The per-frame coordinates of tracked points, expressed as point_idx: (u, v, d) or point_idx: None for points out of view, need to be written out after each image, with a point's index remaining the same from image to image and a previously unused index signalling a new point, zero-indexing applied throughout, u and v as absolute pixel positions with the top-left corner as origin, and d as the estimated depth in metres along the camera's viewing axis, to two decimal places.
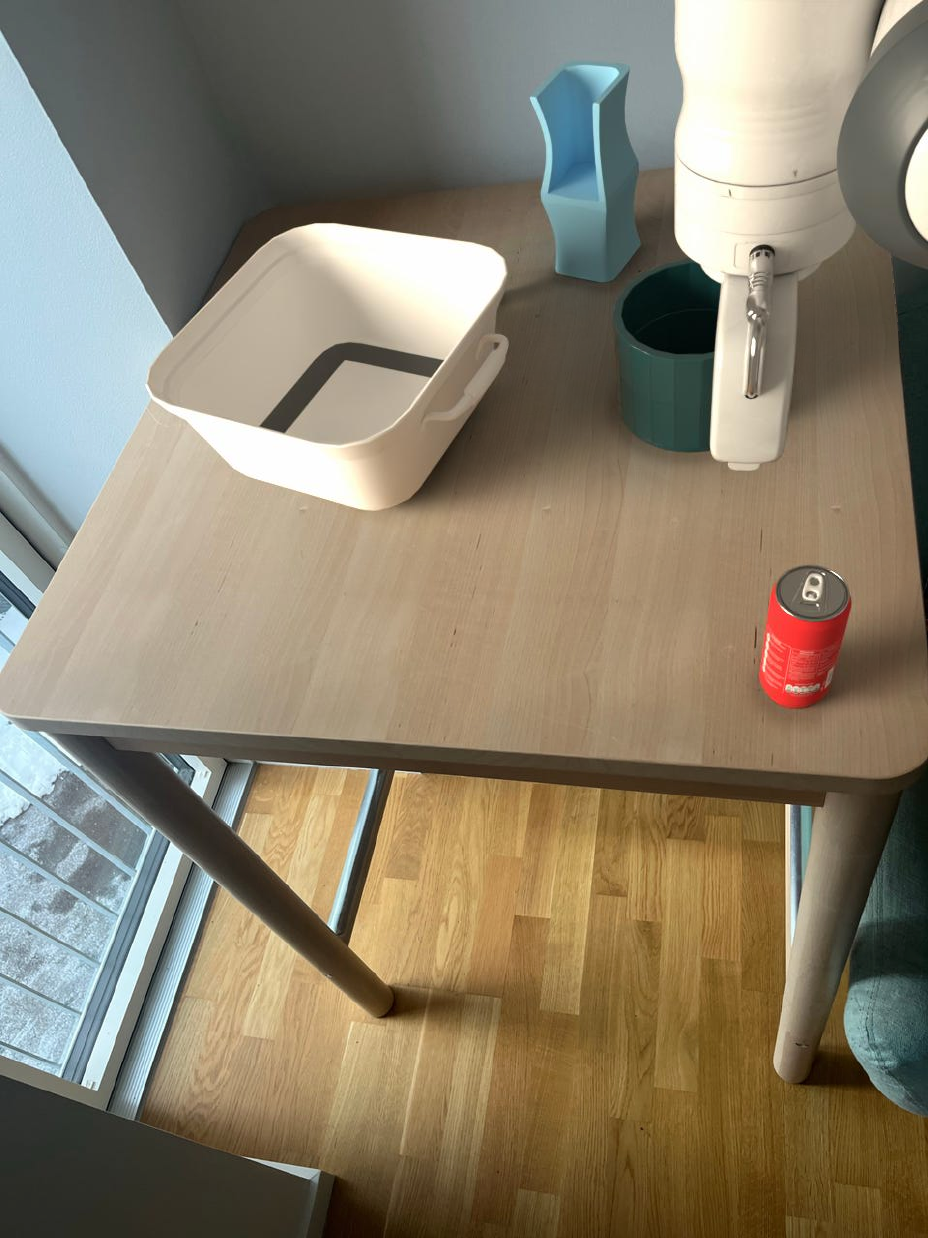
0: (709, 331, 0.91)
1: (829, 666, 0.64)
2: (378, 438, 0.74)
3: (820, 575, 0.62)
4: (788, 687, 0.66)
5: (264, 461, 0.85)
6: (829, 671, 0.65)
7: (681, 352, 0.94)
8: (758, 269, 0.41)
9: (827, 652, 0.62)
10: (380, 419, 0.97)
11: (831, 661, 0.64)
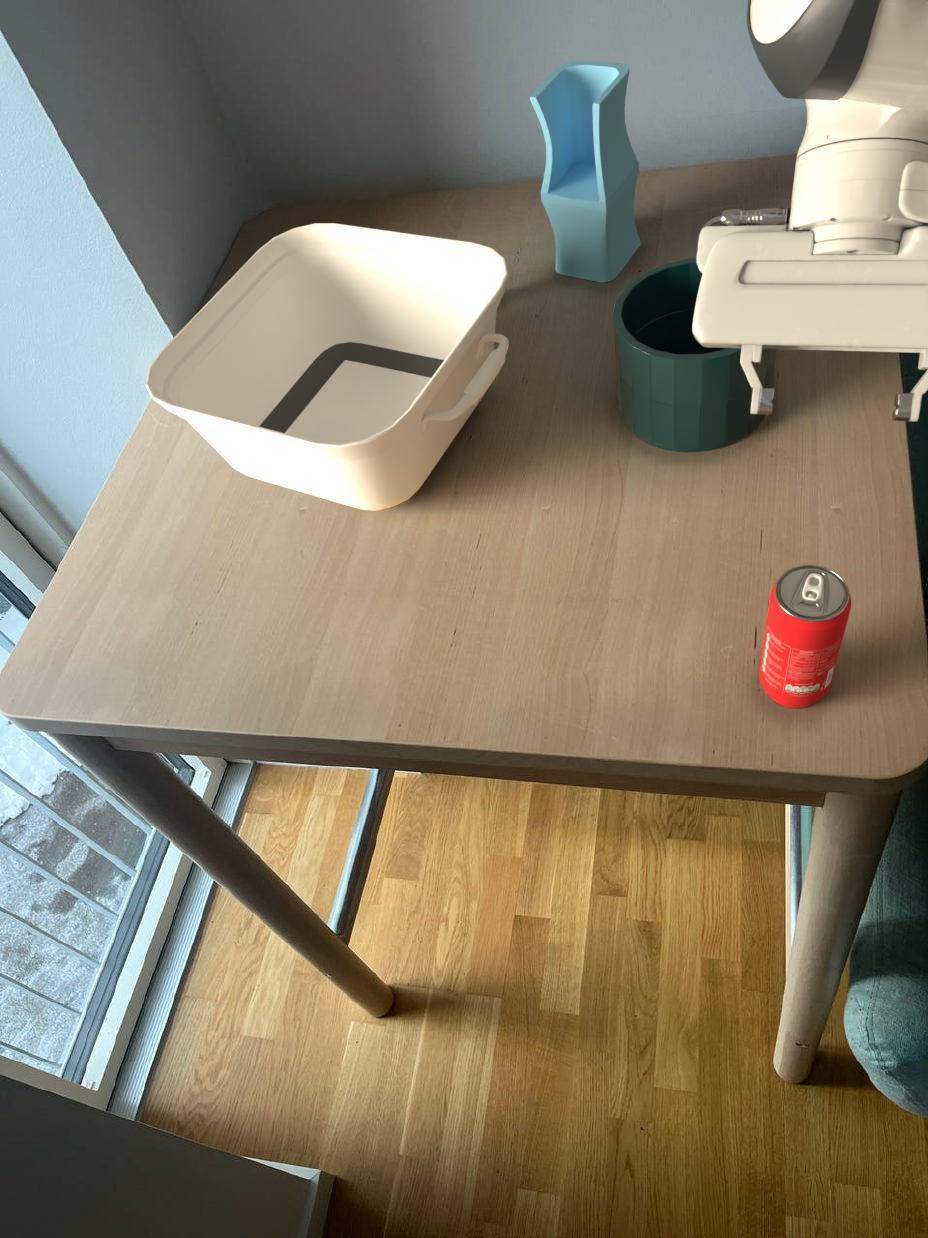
0: None
1: (829, 666, 0.64)
2: (378, 438, 0.74)
3: (820, 575, 0.62)
4: (788, 687, 0.66)
5: (264, 461, 0.85)
6: (829, 671, 0.65)
7: (681, 352, 0.94)
8: None
9: (827, 652, 0.62)
10: (380, 419, 0.97)
11: (831, 661, 0.64)
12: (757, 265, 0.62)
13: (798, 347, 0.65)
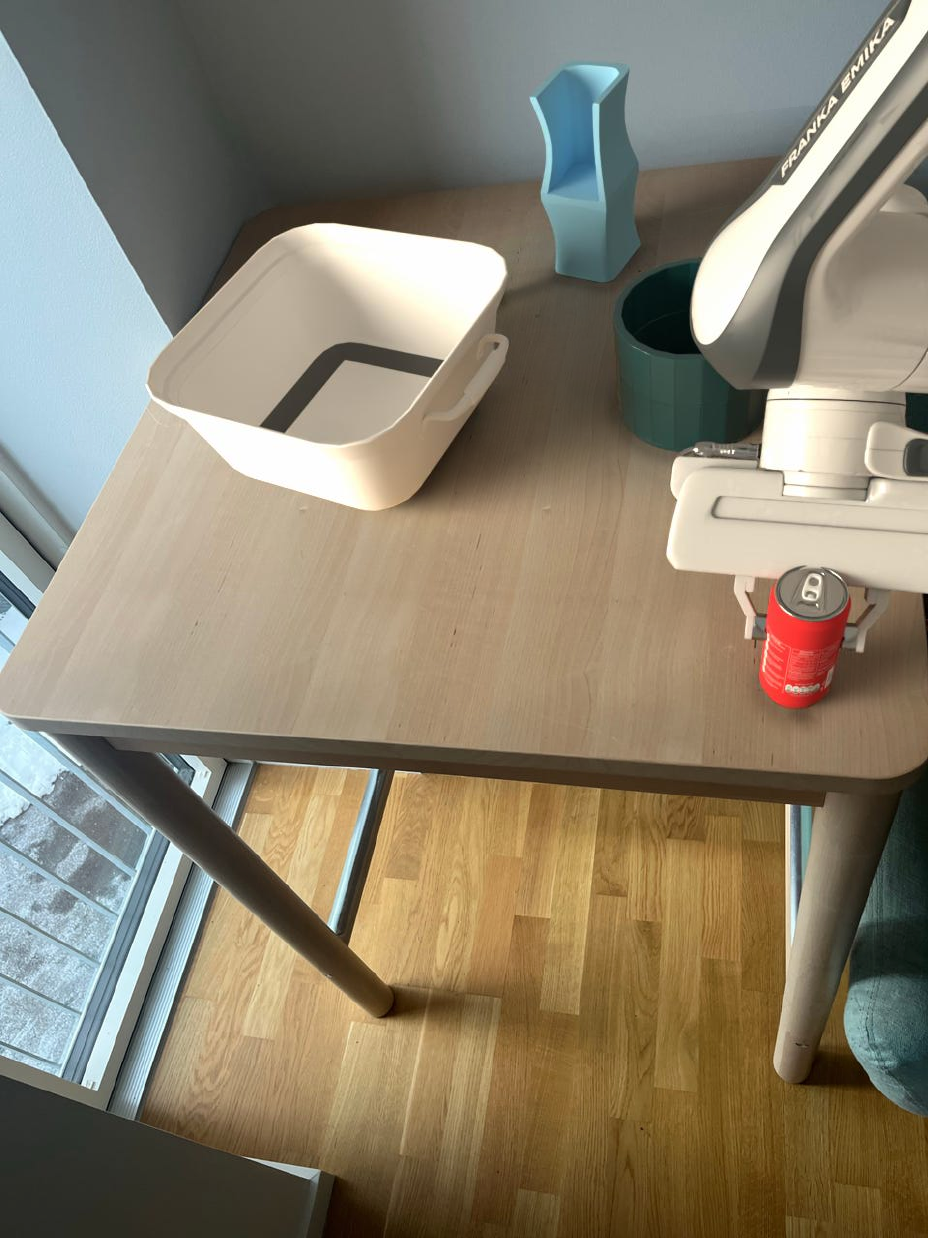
0: None
1: (829, 666, 0.64)
2: (378, 438, 0.74)
3: (820, 575, 0.62)
4: (788, 687, 0.66)
5: (264, 461, 0.85)
6: (829, 671, 0.65)
7: (681, 352, 0.94)
8: (736, 443, 0.64)
9: (827, 652, 0.62)
10: (380, 419, 0.97)
11: (831, 661, 0.64)
12: (728, 500, 0.63)
13: None
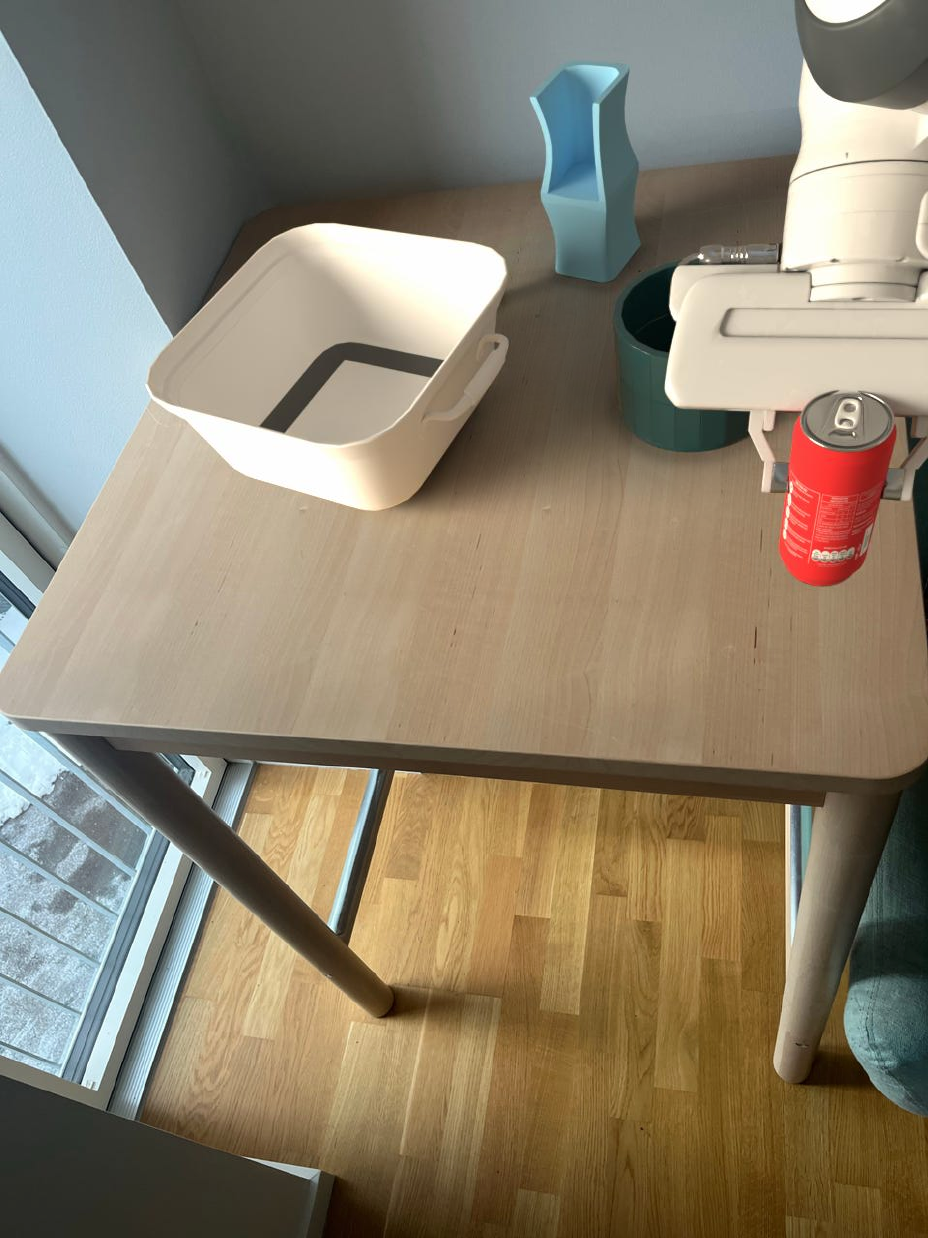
0: None
1: (867, 522, 0.52)
2: (378, 438, 0.74)
3: (857, 400, 0.49)
4: (815, 553, 0.54)
5: (264, 461, 0.85)
6: (866, 530, 0.53)
7: None
8: None
9: (866, 499, 0.50)
10: (380, 419, 0.97)
11: (869, 515, 0.52)
12: (741, 313, 0.51)
13: (793, 410, 0.53)
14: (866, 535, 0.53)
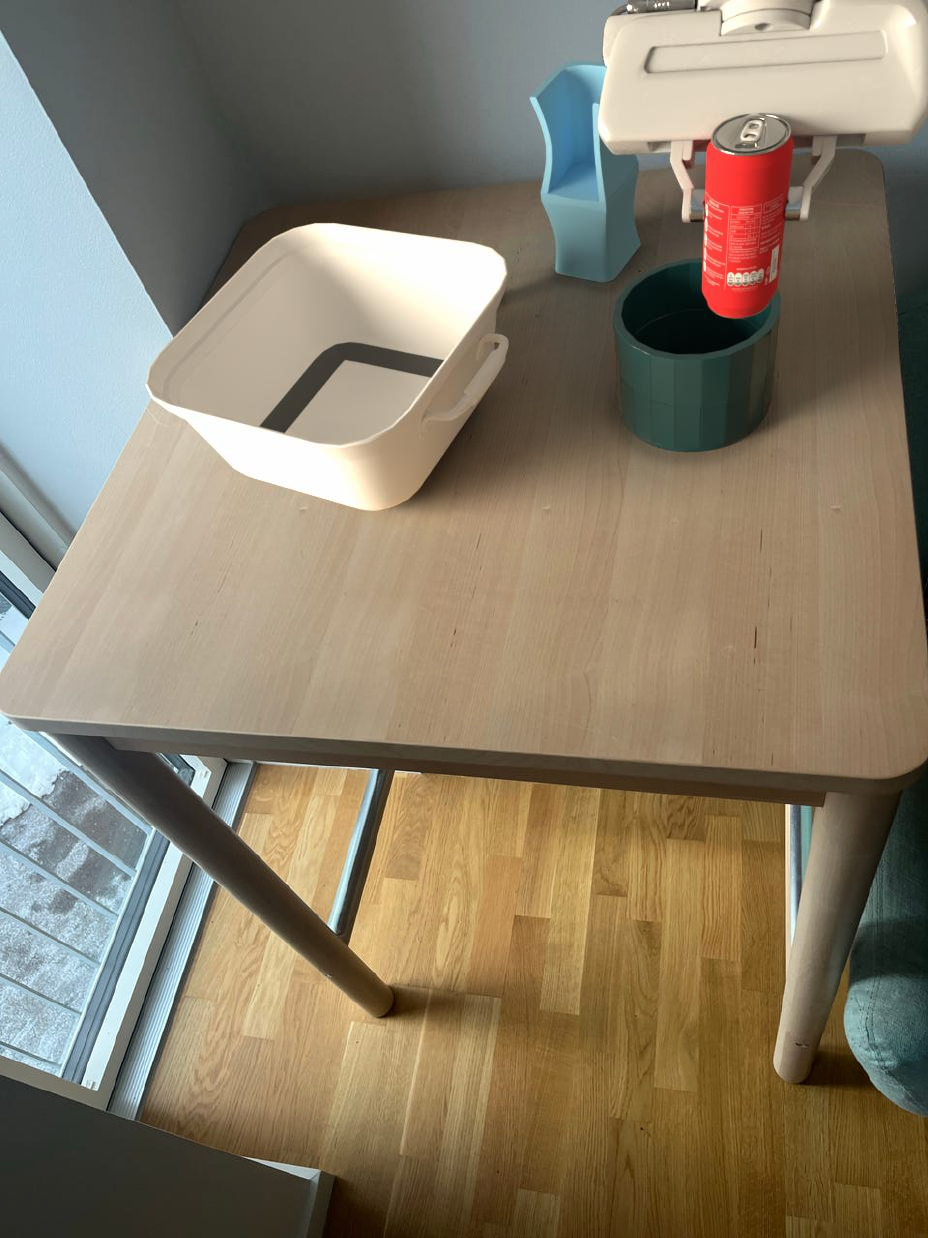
0: (709, 331, 0.91)
1: (772, 240, 0.59)
2: (378, 438, 0.74)
3: (760, 120, 0.56)
4: (729, 277, 0.61)
5: (264, 461, 0.85)
6: (773, 251, 0.60)
7: (681, 352, 0.94)
8: None
9: (769, 211, 0.57)
10: (380, 419, 0.97)
11: (774, 232, 0.59)
12: (663, 51, 0.58)
13: None
14: (773, 257, 0.61)
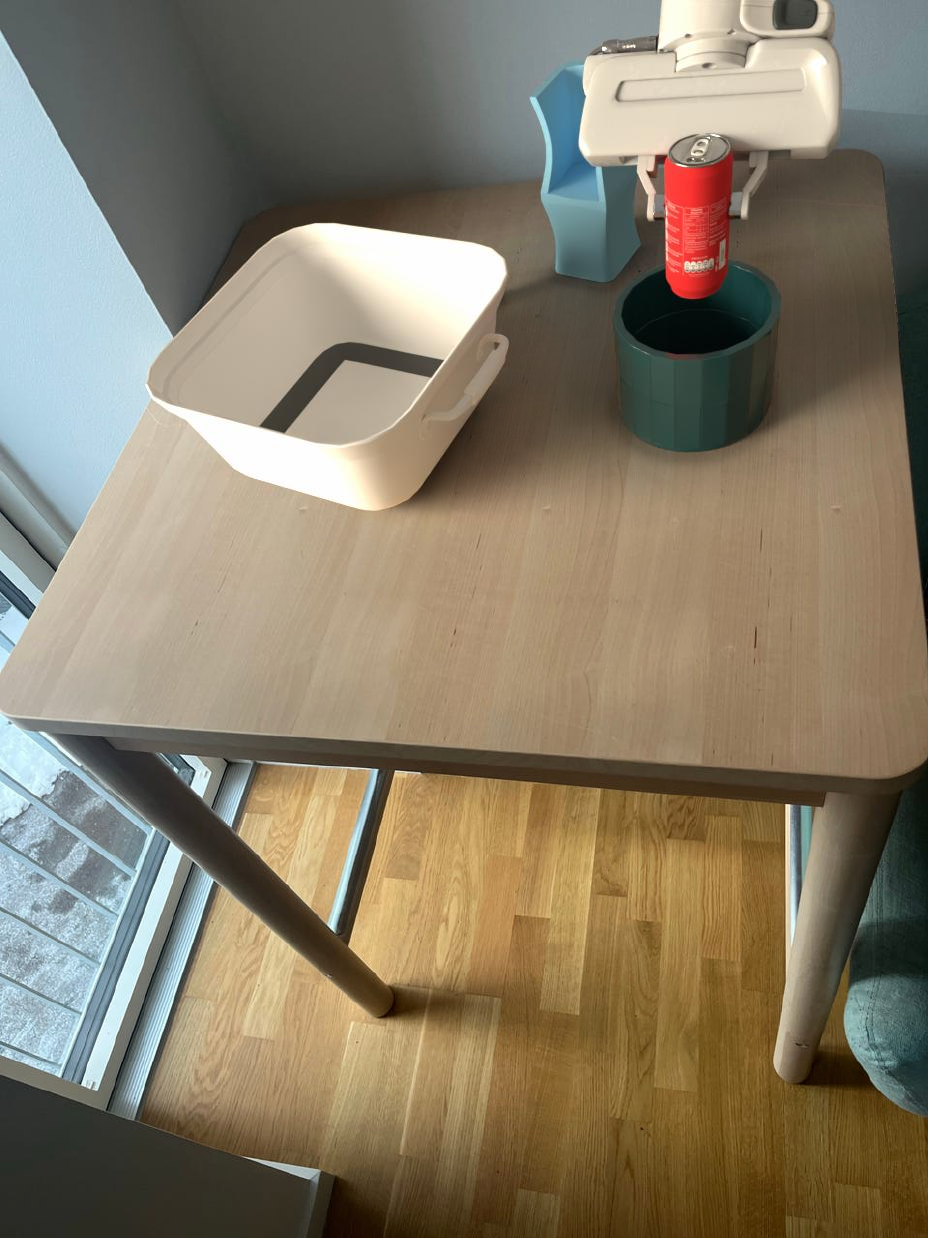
0: (709, 331, 0.91)
1: (719, 235, 0.74)
2: (378, 438, 0.74)
3: (707, 139, 0.71)
4: (686, 265, 0.76)
5: (264, 461, 0.85)
6: (720, 243, 0.74)
7: (681, 352, 0.94)
8: None
9: (715, 211, 0.72)
10: (380, 419, 0.97)
11: (720, 228, 0.73)
12: (630, 84, 0.73)
13: None
14: (721, 249, 0.75)
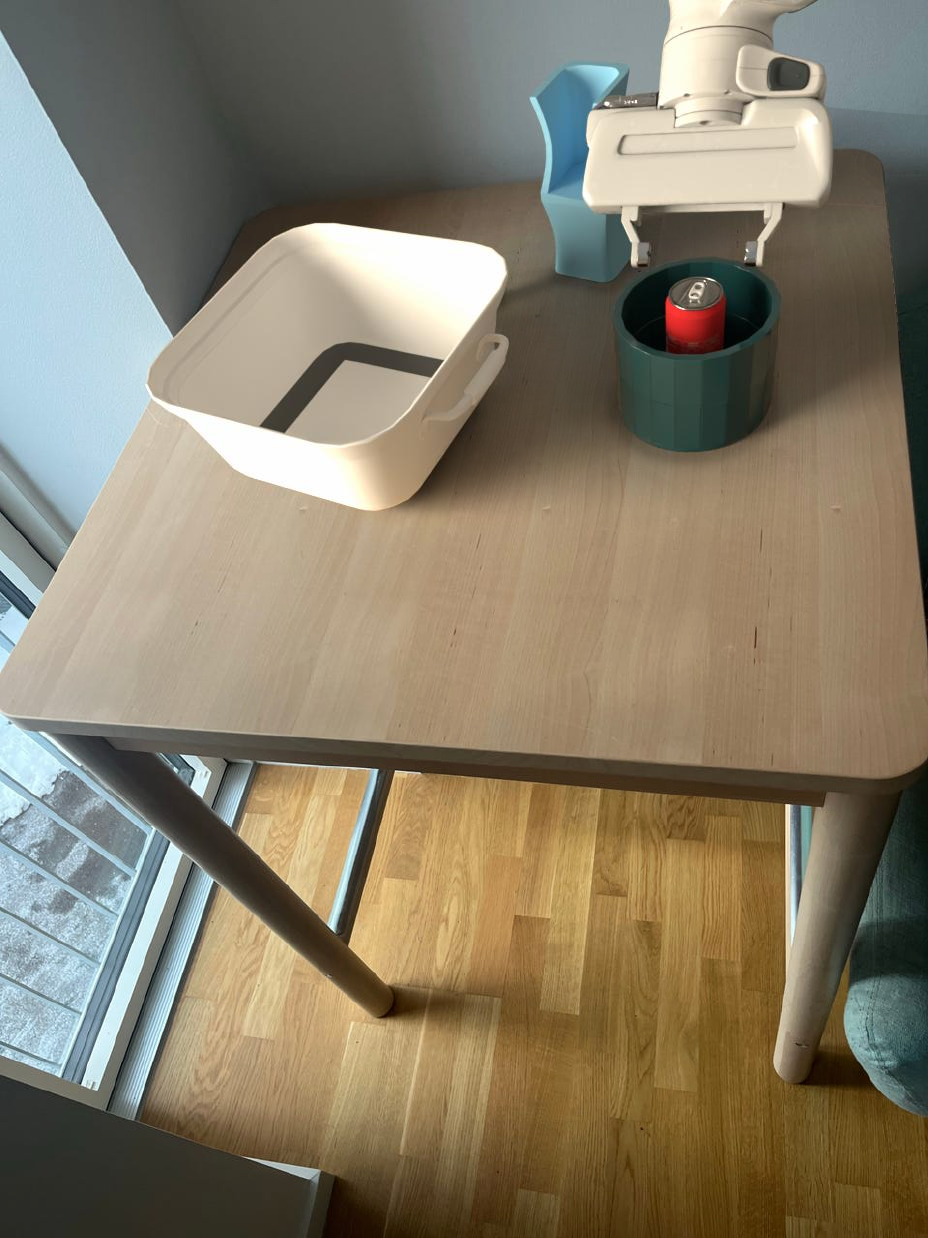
0: None
1: None
2: (378, 438, 0.74)
3: (703, 282, 0.81)
4: None
5: (264, 461, 0.85)
6: None
7: None
8: None
9: (709, 344, 0.82)
10: (380, 419, 0.97)
11: None
12: (631, 138, 0.76)
13: (670, 210, 0.79)
14: None
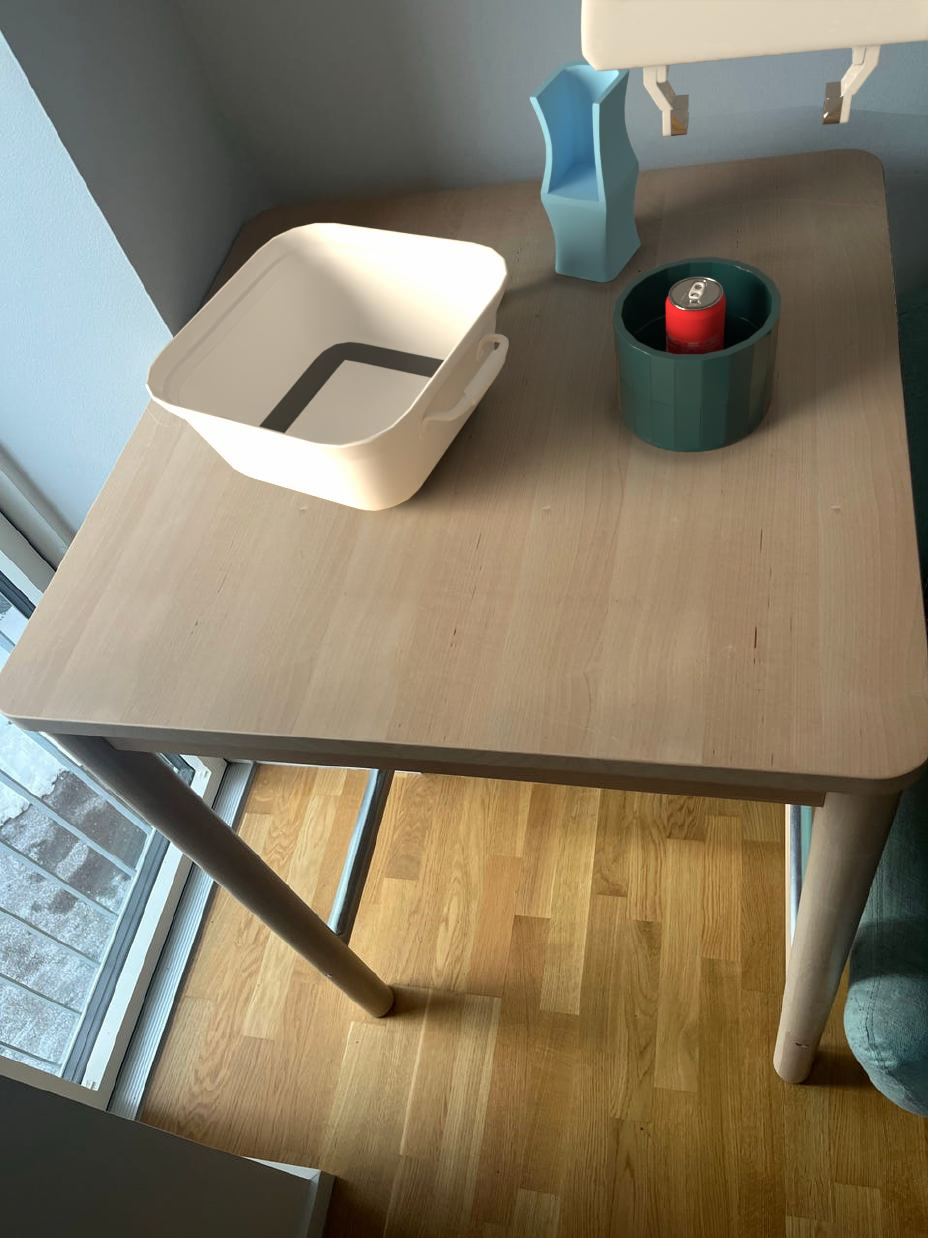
0: None
1: None
2: (378, 438, 0.74)
3: (703, 282, 0.81)
4: None
5: (264, 461, 0.85)
6: None
7: None
8: None
9: (709, 344, 0.82)
10: (380, 419, 0.97)
11: None
12: None
13: None
14: None
